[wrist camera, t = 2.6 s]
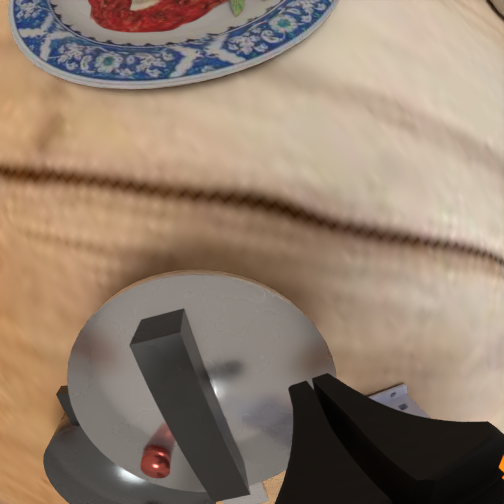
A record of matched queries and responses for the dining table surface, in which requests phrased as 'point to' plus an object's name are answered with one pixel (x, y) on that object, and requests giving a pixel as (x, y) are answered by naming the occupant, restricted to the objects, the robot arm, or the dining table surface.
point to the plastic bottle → (499, 6)
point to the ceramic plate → (158, 37)
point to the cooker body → (99, 470)
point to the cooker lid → (195, 381)
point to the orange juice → (502, 465)
